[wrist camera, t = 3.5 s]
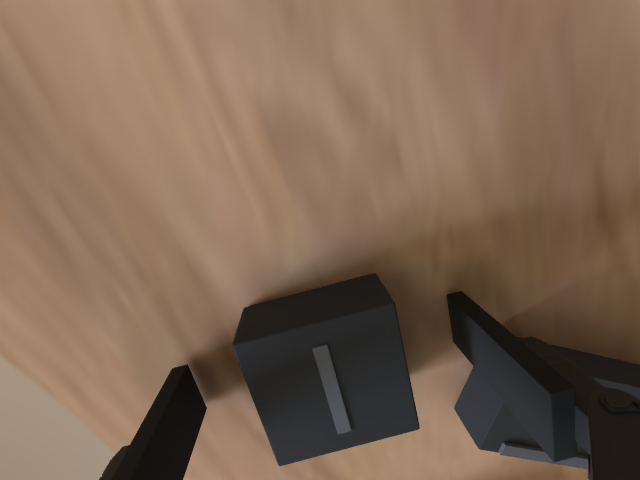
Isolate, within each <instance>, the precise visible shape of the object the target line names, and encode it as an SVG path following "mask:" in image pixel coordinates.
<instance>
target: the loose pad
mask: <svg viewBox="0 0 640 480" xmlns="http://www.w3.org/2000/svg"><path fill="white" fill-rule="evenodd" d="M232 347H233V349H234V352H235V354H236V357H237V360H238V362H239V365H240V367H241V370H242V373H243V375H244V378H245V380H246V383H247V385H248V388H249V391H250V393H251V396H252V398H253V401H254V403H255V406H256V409H257V411H258V414H259V416H260V419H261V422H262V424H263V427H264V429H265V432H266V434H267V437H268V440H269V442H270V445H271V447H272V450H273V453H274V455H275V458H276V460H277V463H278V465H279V466H282V465H286V464H290V463H294V462H298V461H301V460H305V459H309V458H313V457H316V456H320V455H324V454H328V453H331V452H335V451H339V450H343V449H347V448H350V447H354V446H358V445H362V444H365V443H369V442H373V441H377V440H381V439H384V438H388V437H392V436H396V435H399V434H403V433H407V432H411V431H414V430H418V429H419V422H418V417H417V412H416V407H415V402H414V397H413V392H412V387H411V382H410V377H409V372H408V367H407V362H406V357H405V352H404V347H403V342H402V337H401V332H400V327H399V322H398V317H397V312H396V307H395V303H394V301H393V300H392V298H391V297H390V295H389V294H388V292H387V290H386V289H385V287H384V286H383V284H382V283H381V281H380V280H379V278H378V276H377V275H376V274H370V275H367V276H363V277H359V278H355V279H351V280H348V281H344V282H340V283H336V284H332V285H329V286H325V287H321V288H317V289H313V290H310V291H306V292H302V293H298V294H294V295H291V296H287V297H283V298H279V299H275V300H272V301H268V302H264V303H260V304H256V305H253V306H249V307H245V308H244V309H243V312H242V315H241V319H240V322H239V325H238V328H237V331H236V334H235V338H234V341H233V344H232Z"/></svg>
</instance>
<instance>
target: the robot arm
mask: <svg viewBox="0 0 640 480" xmlns="http://www.w3.org/2000/svg"><path fill="white" fill-rule="evenodd" d="M447 301H448V308H449V314H450V321H451V328H452V334H453V341H454V343H455V344H456V346H457V347H458V348H459V349H460V350H461V352H462V353H463V354H464V355H465V356H466V358H467V359H468V360H469V361H470V362H471V364H472V365H473V366H474V367H475V368H476V370H477V371H478V372H479V373H480V374H481V376H482V377H483V378H484V379H485V380H486V382H487V383H488V384H489V385H490V386H491V388H492V389H493V390H494V391H495V392H496V394H497V395H498V396H499V397H500V398H501V400H502V401H503V402H504V403H505V404H506V406H507V407H508V408H509V409H510V410H511V412H512V413H513V414H514V415H515V416H516V418H517V419H518V420H519V421H520V422H521V424H522V425H523V426H524V427H525V428H526V430H527V431H528V432H529V433H530V434H531V436H532V437H533V438H534V439H535V440H536V442H537V443H538V444H539V445H540V446H541V448H542V449H543V450H544V451H545V452H546V454H547V455H548V456H549V457H550V458H551V460H552V461H553V462H554V463H555V462H559V461H562V460H566V459H570V458H573V457H577V443H578V444H579V445H580V446H581V447H582V448H583V449H584V450H585V451H586V452H587V453H588V478H589V480H640V400H639V399H638V398H637V397H635V396H633V395H631V394H629V393H627V392H625V391H622V390H618V389H615V388H606V387H604V386H602V385H601V384H600V383H598V382H597V381H596V380H595V379H593V378H592V377H591V376H589V375H588V374H587V373H585V372H584V371H583V370H581V369H580V368H579V367H578V366H576V365H575V364H574V363H572V362H571V361H570V360H567V358H566V357H564V356H563V355H562V354H560V353H558V352H557V350H555V349H554V348H553V347H551V346H550V345H549V344H547V343H546V342H544V341H541V340H539V339H537V338H534V337H532V336H531V337H527V338H523V339H520V340H519V339H518V338H516V337H515V336H514V335H513V334H512V333H511V332H509V331H508V330H507V329H506V328H505V327H503V326H502V325H501V324H500V323H499V322H498V321H496V320H495V319H494V318H493V317H492V316H490V315H489V314H488V313H487V312H486V311H484V310H483V309H482V308H481V307H480V306H479V305H477V304H476V303H475V302H474V301H473V300H471V299H470V298H469V297H468V296H467V295H465V294H464V293H463V292H462V291H461V292H457V293H453V294H450V295H447ZM206 409H207V407H206V405H205V403H204V401H203V398H202V396H201V394H200V392H199V389H198V387H197V385H196V382H195V380H194V378H193V376H192V373H191V371H190V369H189V367H188V364H187V365H183V366H180V367H176V368H172V370H171V372H170V374H169V375H168V377H167V379H166V381H165V383H164V384H163V386H162V388H161V390H160V392H159V393H158V395H157V397H156V399H155V401H154V403H153V404H152V406H151V408H150V410H149V412H148V413H147V415H146V417H145V419H144V421H143V422H142V424H141V426H140V428H139V430H138V431H137V433H136V435H135V437H134V439H133V440H132V442H131V444H130V445H128V446H124V447H122V448H121V449H120V450H119V452H118V453H117V454H116V455H115V456H114V457H113V458H112V459H111V460H110V462H109V464H108V465H107V467H106V469H105V471H104V472H103V474H102V477H100V479H99V480H183V478H184V475H185V472H186V469H187V466H188V463H189V460H190V457H191V454H192V451H193V448H194V445H195V442H196V439H197V436H198V433H199V430H200V427H201V424H202V421H203V418H204V415H205V412H206Z"/></svg>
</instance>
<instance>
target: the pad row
mask: <svg viewBox="0 0 640 480" xmlns="http://www.w3.org/2000/svg"><path fill="white" fill-rule="evenodd" d="M516 338H518V337H516ZM518 339H519V340H520V339H523V338H518ZM550 346H551V347H553V348H554V349H555V350H557V352H558V353H560V354H562V355H563V356H564V357H566V358H567V360H570V361H571V362H572V363H574V364H575V365H576V366H578V367H579V368H580V369H581V370H583V371H584V372H585V373H587V374H588V375H589V376H591V377H592V378H593V379H595V380H596V381H597V382H598V383H600V384H601V385H602V386H604V387H606V388H615V389H618V390H622V391H625V392H627V393H629V394H631V395H633V396H635V397H637V398H638V399H639V400H640V365H637V364H632V363H628V362H623V361H619V360H615V359H610V358H606V357H602V356H597V355H593V354H588V353H584V352H580V351H575V350H571V349H567V348H562V347H558V346H553V345H550ZM454 409H455V411H456V413H457V414H458V416H459V417H460V419H461V421H462V422H463V424H464V426H465V427H466V429H467V431H468V432H469V434H470V435H471V437H472V439H473V440H474V442H475V444H476V445H477V447H478V448H479V449H481V450H487V451H493V452H499V453H500V455H505V456H511V457H517V458H523V459H529V460H535V461H541V462H547V463H553V464H559V465H565V466H571V467H578V468H584V469H588V453H587V452H586V451H585V450H584V449H583V448H582V447H581V446H580V445H579V444H578V443H577V457H573V458H570V459H566V460H562V461H559V462H555V463H554V462H553V461H552V460H551V458H550V457H549V456H548V455H547V454H546V452H545V451H544V450H543V449H542V448H541V446H540V445H539V444H538V443H537V442H536V440H535V439H534V438H533V437H532V436H531V434H530V433H529V432H528V431H527V430H526V428H525V427H524V426H523V425H522V424H521V422H520V421H519V420H518V419H517V418H516V416H515V415H514V414H513V413H512V412H511V410H510V409H509V408H508V407H507V406H506V404H505V403H504V402H503V401H502V400H501V398H500V397H499V396H498V395H497V394H496V392H495V391H494V390H493V389H492V388H491V386H490V385H489V384H488V383H487V382H486V380H485V379H484V378H483V377H482V376H481V374H480V373H479V372H478V371H477V370H476V368H475V367H474V368H473V370H472V372H471V374H470V376H469V378H468V380H467V382H466V385H465V387H464V389H463V391H462V393H461V395H460V397H459V399H458V401H457V404H456V406H455V408H454Z"/></svg>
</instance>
